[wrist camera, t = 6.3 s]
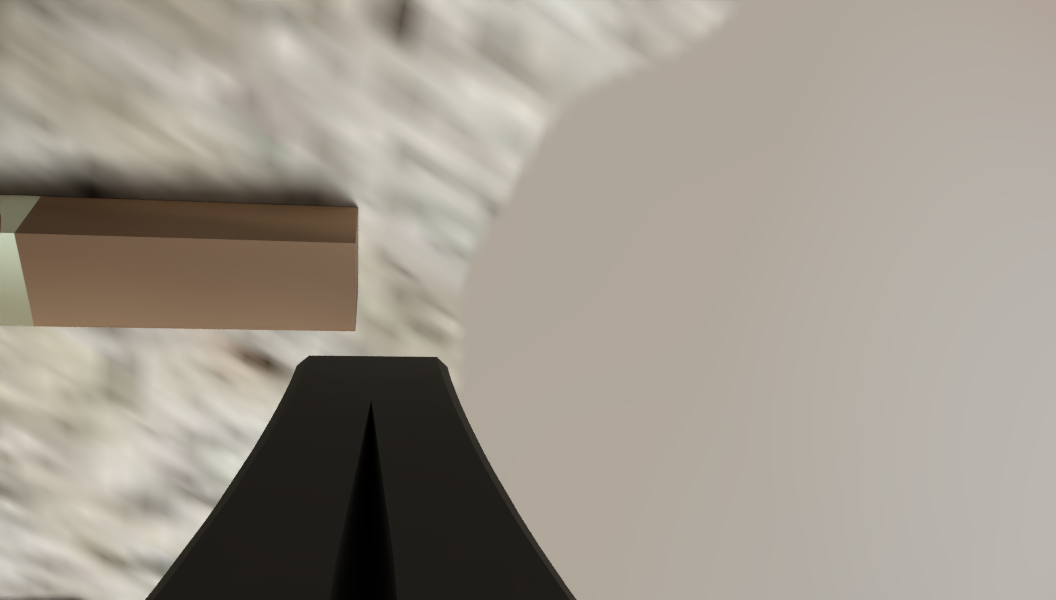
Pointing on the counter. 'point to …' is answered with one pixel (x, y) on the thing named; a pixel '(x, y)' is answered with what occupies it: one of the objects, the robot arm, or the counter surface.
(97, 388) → the counter surface
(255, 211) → the rail
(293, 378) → the robot arm
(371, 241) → the counter surface
